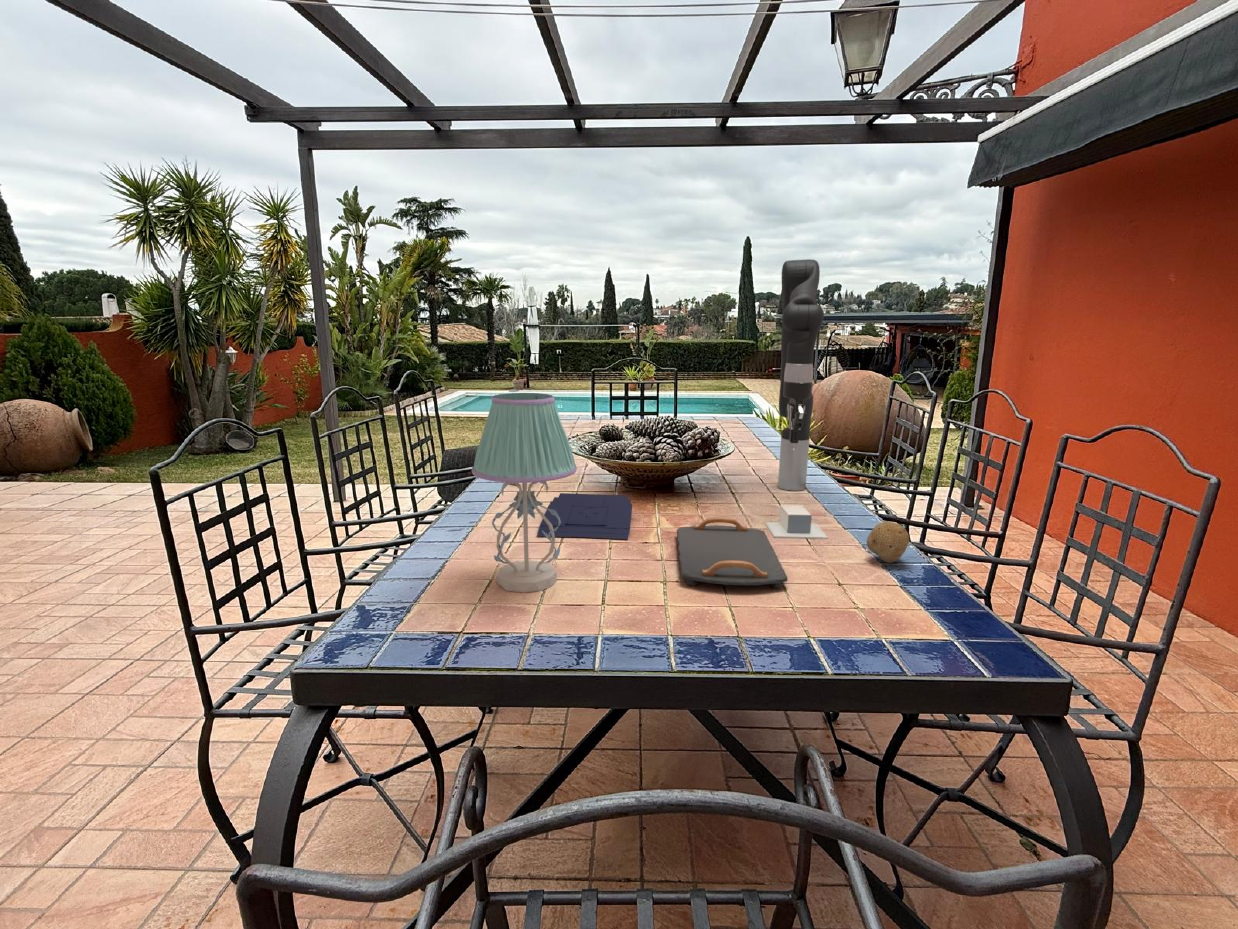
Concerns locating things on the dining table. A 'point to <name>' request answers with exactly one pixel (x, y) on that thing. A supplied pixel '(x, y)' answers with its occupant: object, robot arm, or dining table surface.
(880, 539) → the potato
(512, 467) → the table lamp
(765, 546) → the serving board
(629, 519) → the dark blue flat slab
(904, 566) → the dining table surface
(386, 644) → the dining table surface
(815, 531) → the mat
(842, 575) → the dining table surface
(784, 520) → the block
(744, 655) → the dining table surface
